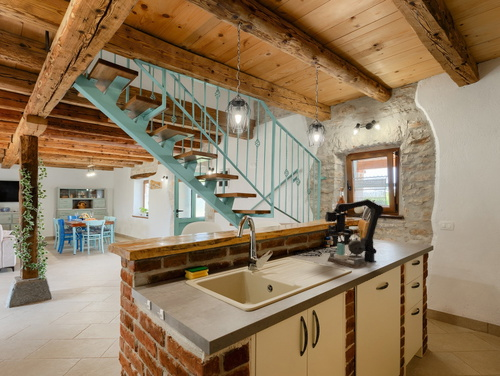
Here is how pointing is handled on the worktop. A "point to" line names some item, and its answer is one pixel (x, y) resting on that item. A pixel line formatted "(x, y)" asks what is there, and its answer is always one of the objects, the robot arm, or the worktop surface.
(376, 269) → the worktop surface
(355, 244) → the alarm clock
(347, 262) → the rail board
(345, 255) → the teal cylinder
